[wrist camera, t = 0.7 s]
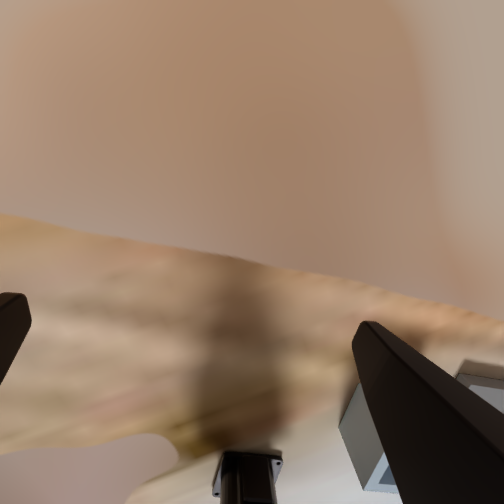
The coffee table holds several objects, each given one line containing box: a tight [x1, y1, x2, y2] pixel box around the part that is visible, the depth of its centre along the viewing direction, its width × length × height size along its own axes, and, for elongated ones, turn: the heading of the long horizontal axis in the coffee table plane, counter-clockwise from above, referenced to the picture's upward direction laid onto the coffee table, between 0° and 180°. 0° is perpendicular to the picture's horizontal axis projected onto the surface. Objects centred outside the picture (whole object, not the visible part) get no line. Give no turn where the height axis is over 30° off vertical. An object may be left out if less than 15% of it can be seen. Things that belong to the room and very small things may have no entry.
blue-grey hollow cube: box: [339, 383, 399, 494], centre depth 27 cm, size 6×6×6 cm
